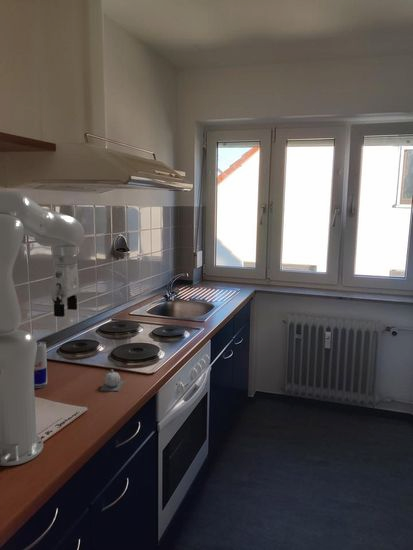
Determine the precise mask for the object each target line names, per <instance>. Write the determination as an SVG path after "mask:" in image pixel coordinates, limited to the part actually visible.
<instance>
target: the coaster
mask: <svg viewBox="0 0 413 550" xmlns="http://www.w3.org/2000/svg"><path fill="white" fill-rule="evenodd" d="M124 383H125V380H120V382H119V384H118V385H116V386H114V387H110V386H108V385H106V384H105V383H104V384H103V385H102V386H101V388H100V391H103V392H119V391H120V389H121V388H122V386H123V385H124Z"/></svg>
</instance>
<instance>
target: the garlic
mask: <svg viewBox="0 0 413 550" xmlns="http://www.w3.org/2000/svg"><path fill="white" fill-rule="evenodd" d="M103 381H104V384H106V385H108V386H110V387H114V386H116V385H118V384H119V382H120V381H121V376H120V374H119V373H118V372H117V371H116V372H115V371H114V369H111V370H110V371H109V372H107V373H106V374H105V375H104V377H103Z"/></svg>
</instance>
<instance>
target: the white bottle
mask: <svg viewBox="0 0 413 550" xmlns="http://www.w3.org/2000/svg"><path fill="white" fill-rule="evenodd" d="M36 342H37V352H36V358H35V366H34V389H41V388H45V386H47V384H48V364H47V363H48V361H47V359H48V358H47V343H46V342H45V341H36Z"/></svg>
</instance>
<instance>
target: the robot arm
mask: <svg viewBox="0 0 413 550" xmlns="http://www.w3.org/2000/svg"><path fill="white" fill-rule="evenodd" d="M24 236H27V237H29V238H34V240H35V242H36V243H37V244H38V245H40V246H42V247H51V249H52V251H51V252H52V254H51V255H52V266H53V273H52V274H53V275H52V291H51V297H52V298H51V299H52V303H53V316H54V317H60V318H62V317H63V318H64V317H65V315H66V314H65V303H64V301H65V299H66V300H67V301H66V305H67V306H66V308H67V310H73V311H75V310H78V293H79V292H80V282H79V281H80V279H79V269H78V247H81V245H83V243H84V241H85V239H86V238H85V237H86V235H85V229H84V227H83V225H82V223H81V222H80V221H79V220H78V219H76V218H75V217H73V216H71V215H67V214H65V213H60V212H58V211H54V210H52V209H50V208H44V207H42V206H41V205H39V204H37V202H35V201H34V200H32V199H31V198H30V197H28V196H26V195H25V194H23V193H21V192H17V191H11V190H10V191H9V190H0V466H4V467H10V466H17V465H21V464H25V463H27V462H30V461H31V460H33V459H35V458H36V457H38V455H40V454H41V453H42V451H43V449H44V441H43V439H42V438H41V437H39V436H38V435H37V419H36V418H37V417H36V398H35V397H36V396H35V395H36V393H35V392H36V391H35V387H34V366H35V358H36V352H37V342H38V341H37V339H36V336H34V335H33V334H32V333H31V332H29V331H26V330H23V329H22V330H21V329H18V328H19V327H20V326H21V323H22V311H21V305H20V302H19V299H18V294H17V291H16V287H15V283H14V278H13V270H14V266H15V262H16V259H17V257H18V255H19V253H20V252H19V251H20V250H21V246H22V244H23V241H24ZM65 297H66V298H65Z"/></svg>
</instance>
